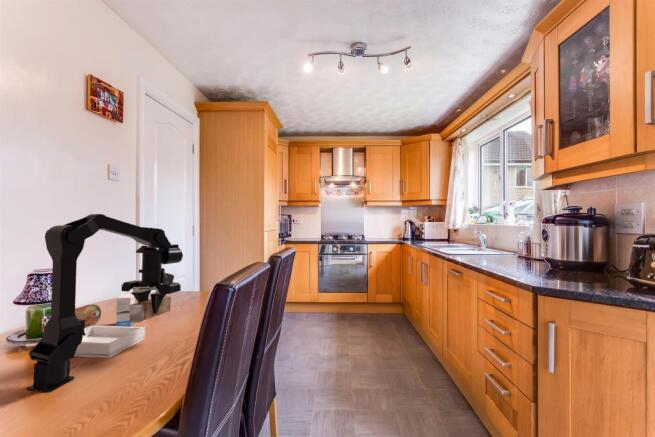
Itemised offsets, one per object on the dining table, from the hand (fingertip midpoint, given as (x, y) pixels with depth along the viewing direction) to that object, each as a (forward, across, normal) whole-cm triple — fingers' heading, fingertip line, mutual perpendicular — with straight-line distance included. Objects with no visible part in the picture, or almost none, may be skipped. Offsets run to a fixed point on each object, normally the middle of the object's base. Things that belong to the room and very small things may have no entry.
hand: (150, 312), depth 102 cm
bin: (+11, +16, +4) cm, 19 cm away
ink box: (+11, +27, -16) cm, 33 cm away
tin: (+11, +40, -8) cm, 42 cm away
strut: (+1, 0, 0) cm, 1 cm away
